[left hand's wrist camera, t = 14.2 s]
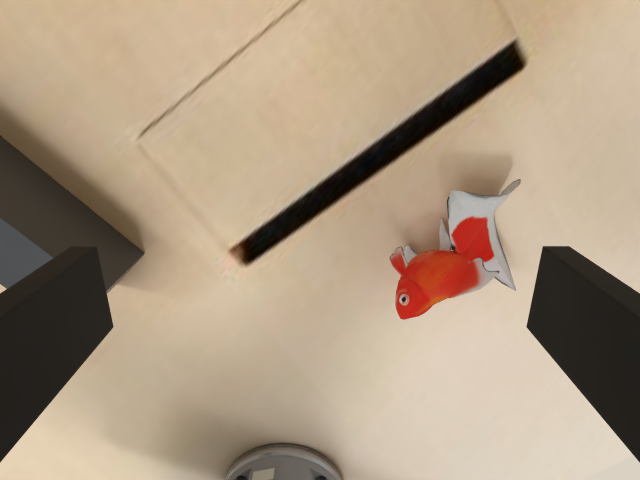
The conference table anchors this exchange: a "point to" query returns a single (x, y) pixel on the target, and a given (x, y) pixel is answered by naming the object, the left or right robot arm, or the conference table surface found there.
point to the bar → (50, 224)
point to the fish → (454, 256)
